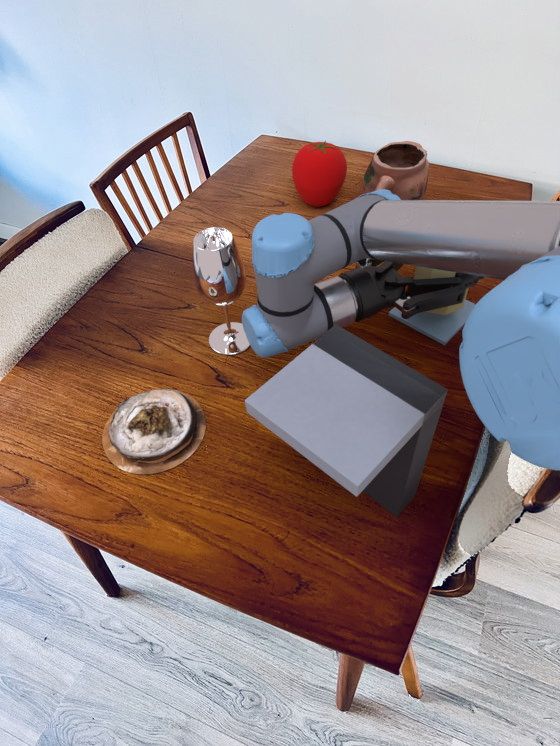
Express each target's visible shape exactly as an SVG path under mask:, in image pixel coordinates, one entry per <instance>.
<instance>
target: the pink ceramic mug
mask: <svg viewBox="0 0 560 746" xmlns="http://www.w3.org/2000/svg"><path fill="white" fill-rule="evenodd" d="M427 157H428V150H426V149H424V147H423V146H422V145H421V144H420V143H418V142H417V141H410V140H404V141H393V142H389V143H387V144H385V145H383V146H382V147H381V148H379V149H378V150H376V151H375V152H374V153H373V156H372V157H371V160H370V162H369V164H368V166H367V168H366V170H365V172H364V174H363V179H362V189H363V194H367V193H371V192H374V191H376V190H380V189H385V190H389V191H391V193H392V194H394V195H397V196H398V197H399V198H400V199H401V200H423V197H424V196H425V194H426V191H427V188H428V182H429V176H430V174H429V170H430V167H431V166H430V162H429V160H428V159H427Z"/></svg>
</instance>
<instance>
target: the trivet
mask: <svg viewBox="0 0 560 746" xmlns="http://www.w3.org/2000/svg"><path fill="white" fill-rule="evenodd" d="M476 304H477V303H474V302H472V301H470V300H468V299H467V298H466V299H465V302H464V306H463V308H461V309H459V310H456V311H454V312H452V313H449V314H447V315H441V314H436V313H430V312H421V313H417V314H415V315H413V316H412V317H410V318H408V319H403V318H402V317H401V314H402V312H401V311H400V310H398V309H397V308H396V307H393V308H391V310H390V311H388V316H389V317H390V318H393V319H395V320H396V321H398V322H400V323H402V324H404V325H405V326H407V327H409V328H410V329H413V330H414V331H417V332H418V333H420V334H422V335H424V336H426V337H427V338H430V339H432V340H433V341H435V342H437V343H439V344H441V345H443V346H446V345H447V344H448V343H449V342H450V341H451V340H452V339H453V338H454V337H455V336H456V335H457V334H458V333H459V332H460V330H462V329H463V328H464V325H465V322H466V320H467V318H468V316H469V314H470V312H471V311H472V309H473V308H474V306H475V305H476Z"/></svg>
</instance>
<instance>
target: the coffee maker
mask: <svg viewBox="0 0 560 746" xmlns="http://www.w3.org/2000/svg"><path fill="white" fill-rule="evenodd" d="M447 394H448V388H446V387H444V386H442V384H440V383H438V382H436V381H434V380H432V379H431V378H429V377H427V376H426V375H424V374H422V373H420V372H419V371H417V370H415V369H414V368H412V367H410V366H408V365H407V364H405V363H403V362H402V361H400V360H398V359H397V358H395V357H393V356H392V355H390V354H388V353H386V352H385V351H383V350H381V349H380V348H378V347H376V346H375V345H373V344H371V343H369V342H368V341H366V340H364V339H362V338H361V337H359V336H357V335H355V334H354V333H352V332H350V331H349V330H346V329H345V328H342V327H340V326H338V325H337V324H335V325H334V326H333V327H332V328H331V329H329V330H328V331H327V332H326V333H325V334H323V335H322V336H321V337H320V338H318V339H315V340H314V341H313V342H312V343H311V344H310V345H309V346H308V347H307V348H306V349H304V350H303V351H302V352H300V354H299V355H297V356H296V357H295V358H293V359H292V360H291V361H290V362H289V363H287V364H286V365H285V366H284V367H283V368H282V369H280V370H279V371H278V372H277V373H276V374H274V375H272V377H271V378H270V379H268V380H267V381H266V382H264V383H263V384H262V385H261V386H259V388H258V389H256V390H255V391H254V392H253V393H252V394H250V395H249V396H248V397H247V398H245V400H244V405H245V411H246V413H247V414H248V415H250V416H251V417H252V418H254V419H255V420H256V421H257V422H259V423H260V424H261V425H263V427H265V428H267V430H269V431H271V432H272V434H274V435H276V436H277V437H279V438H280V439H281V440H282V441H283V442H285V444H287V445H288V446H290V447H291V448H292V449H294V450H295V451H296V452H298V453H299V454H300V455H302V456H303V457H304V458H305V459H307V461H309V462H311V463H312V464H313V465H314V466H316V467H317V468H318V469H319V470H321V471H322V472H323V473H325V474H326V475H328V476H329V477H330V478H331V479H333V480H334V481H335V482H336V483H338V484H339V485H340V486H341V487H343V488H344V489H345V490H346V491H348V492H350V493H351V494H352V495H354V496H355V497H358V496H359V495H360V494H361V493H362V492H363V493H365V494H366V495H367V496H368V497H369V498H371V499H372V500H373V501H375V502H376V503H378V505H380V506H382V507H383V508H384V509H386V510H387V511H388V512H390V513H391V514H392V515H393V516H395V517H396V518H398V517H399V516H400V515H401V514H402V513H403V511H404V510H405V509H406V508H407V507H408V505H409V504H410V503H411V502H412V501H413V499H414V498H415V497H416V495H417V491H418V489H419V488H418V487H419V485H420V482H421V478H422V476H423V472H424V469H425V466H426V462H427V459H428V456H429V452H430V449H431V445H432V442H433V439H434V436H435V432H436V429H437V427H438V423H439V420H440V416H441V413H442V409H443V407H444V403H445V399H446V397H447Z"/></svg>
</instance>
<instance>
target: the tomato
mask: <svg viewBox="0 0 560 746" xmlns="http://www.w3.org/2000/svg"><path fill="white" fill-rule="evenodd" d="M347 172H348V163H347V159H346V157H345V153H344V152H343V151H342V150H341V148H340V147H338V146H337V145H335V144H333V143H331V142H327V140H325V141H316V142H311V143H307V144H305V145H303V146H302V147H301V148H300V149H299V150H298V151H297V152H296V153H295V156H294V158H293V162H292V166H291V175H292V177H291V178H292V182H293V185H294V188H295V189H296V191H297V194H298V195H299V197H300V198H301V200H302V201H303V202H304V203H306V204H307V205H309V206H311V207H316V208H319V207H323V206H326V205H329V204H330V203H331V202H333V200H334V199H336V197H337V196H338V195H339V194H340V191H341V190H342V187H343V185H344V183H345V180H346V177H347Z"/></svg>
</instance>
